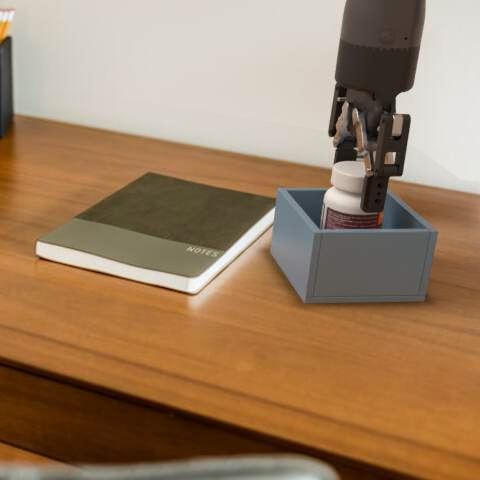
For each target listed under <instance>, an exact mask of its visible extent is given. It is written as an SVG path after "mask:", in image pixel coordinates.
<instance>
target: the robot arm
mask: <svg viewBox="0 0 480 480" xmlns="http://www.w3.org/2000/svg"><path fill="white" fill-rule="evenodd" d="M426 7H427V0H345V4H344V8H343V14H342V19H341V26H340V33H339V40H338V47H337V56H336V64H335V70H334V80H335V84H334V91H333V98H332V104H331V110H330V117H329V124H328V129H327V135H328V137H329V138H333V139H332V146H333V148H334V149H335V151H334V158H333V163H332V167H333V166H334V164H336V163H338V162H343V161H356V160H357V154H358V151H359V153H360V154H361V155H363V156H364V162H365V172H366V175H365V177H364V184H363V190H362V197H361V203H360V208H361V210H362V211H363V212H365V213H380V212H382V211H383V210H384V206H385V200H386V194H387V188H389V182H390V178H393V177H394V178H395V177H397V178H399V177H400V178H401V177H402V176H403V175H404V168H405V164H406V156H407V149H408V143H409V136H410V129H411V123H412V117H411V114H410V113H397V97H398V96H399V95H400V94H402V93H406V92H409V91H410V90H412V89H413V88H414V85H415V80H416V75H417V74H416V73H417V68H418V62H419V57H420V51H421V44H422V38H423V34H424V33H423V32H424V27H425V22H426V13H427V12H426V9H427V8H426ZM354 148H358V151H357V150H356V149H354ZM394 153H395V154H394ZM374 155H375V162H374Z"/></svg>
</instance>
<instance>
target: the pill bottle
mask: <svg viewBox="0 0 480 480" xmlns="http://www.w3.org/2000/svg"><path fill="white" fill-rule="evenodd" d="M333 164H334V163H333ZM365 175H366V172H365V162H358V161H343V162H338V163H336V164H334V166H333V165H332V170H331V175H330V176H331V177H330V184H331V185H332V186H331V187H329V188H330V189H328V190H327V192H326V193H325V196H324V200H323V208H322V215H321V223H320V229H381V228H382V222H383V215H384V210H383V211H382V212H380V213H365V212H363V211H362V210H361V208H360V203H361V197H362V190H363V184H364V177H365ZM384 208H385V206H384Z"/></svg>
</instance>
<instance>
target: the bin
mask: <svg viewBox="0 0 480 480" xmlns="http://www.w3.org/2000/svg"><path fill="white" fill-rule="evenodd" d="M330 188H331V187H277V190H276V191H277V192H276V199H275V206H274V216H273V222H272V223H273V224H272V230H271V231H272V232H271V241H270V249H269V253H270V254H271V256H272V257H273V259H274V261H275V262H276V263H277V265H278V267H279V268H280V269H281V271H282V272H283V274H284V275H285V277H286V279H287V280H288V281H289V283H290V284H291V286H292V287H293V288H294V290H295V291H296V293H297V295H298V296H299V297H300V299H301V300H302V302H303V303H304V304H328V303H329V304H330V303H331V304H340V303H343V304H344V303H345V304H347V303H397V302H398V303H399V302H400V303H402V302H404V303H405V302H406V303H407V302H408V303H409V302H425V300H426V295H427V291H428V287H429V281H430V276H431V271H432V266H433V261H434V258H435V257H434V256H435V251H436V246H437V242H438V241H437V240H438V235H439V230H438V229H436V228H435V227H434V226H433V225H432V224H431V223H429V222H428V221H427V220H426V219H425V218H424V217H422V216H421V215H420V214H419V213H418V212H417V211H416V210H414V209H413V208H412V207H411V206H409V205H408V203H406V202H405V201H404V200H403V199H402V198H401V197H399V196H398V195H397V194H396V193H395V192H394V191H392V190H391V189H390V188H389V187H388V188H387V194H386V200H385V208H384V215H383V222H382V228H381V229H320V223H321V215H322V208H323V200H324V196H325V193H326V192H327V190H328V189H330Z"/></svg>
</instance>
